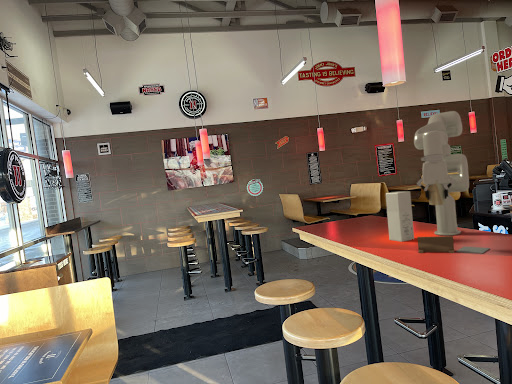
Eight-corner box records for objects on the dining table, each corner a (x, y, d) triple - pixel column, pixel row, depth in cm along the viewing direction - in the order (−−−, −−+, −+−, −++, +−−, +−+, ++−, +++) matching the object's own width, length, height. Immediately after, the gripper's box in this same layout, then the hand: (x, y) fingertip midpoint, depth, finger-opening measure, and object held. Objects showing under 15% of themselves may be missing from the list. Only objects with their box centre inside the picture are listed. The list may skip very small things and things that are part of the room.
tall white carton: (401, 237, 204) (397, 191, 203) (414, 239, 196) (410, 191, 195) (389, 240, 201) (385, 193, 200) (401, 241, 193) (397, 193, 192)
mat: (464, 247, 167) (464, 246, 167) (489, 248, 160) (489, 248, 160) (456, 251, 160) (456, 251, 160) (482, 253, 153) (482, 252, 153)
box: (429, 205, 171) (427, 180, 170) (436, 203, 172) (434, 179, 172) (438, 205, 166) (436, 180, 165) (445, 204, 167) (443, 179, 167)
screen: (418, 250, 170) (417, 236, 169) (453, 250, 164) (452, 235, 164) (418, 252, 165) (417, 238, 165) (454, 252, 159) (453, 237, 159)
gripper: (412, 161, 169) (415, 201, 169) (456, 156, 161) (459, 198, 162) (413, 161, 175) (416, 199, 176) (455, 156, 168) (458, 197, 169)
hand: (436, 198), depth 169 cm, fingers closed on box, 6 cm apart
